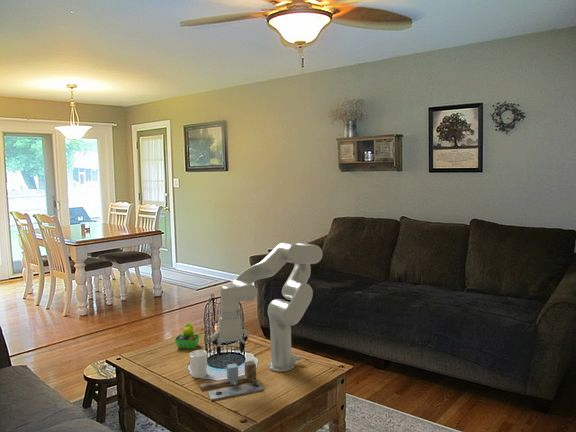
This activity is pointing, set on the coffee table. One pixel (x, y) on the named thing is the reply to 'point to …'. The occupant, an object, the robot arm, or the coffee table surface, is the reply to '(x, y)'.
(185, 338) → the fruit basket
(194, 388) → the coffee table surface
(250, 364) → the beam
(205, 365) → the white cup
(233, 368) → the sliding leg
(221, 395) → the bolt plate
